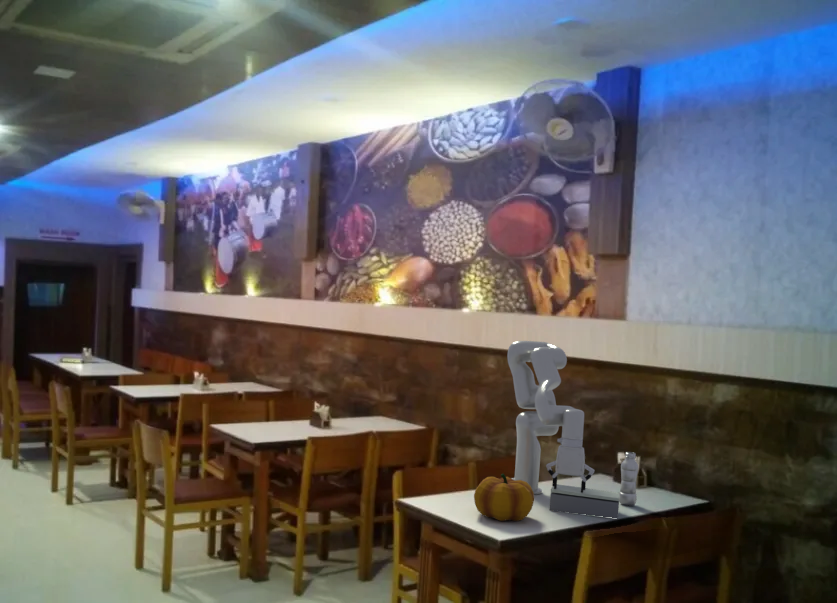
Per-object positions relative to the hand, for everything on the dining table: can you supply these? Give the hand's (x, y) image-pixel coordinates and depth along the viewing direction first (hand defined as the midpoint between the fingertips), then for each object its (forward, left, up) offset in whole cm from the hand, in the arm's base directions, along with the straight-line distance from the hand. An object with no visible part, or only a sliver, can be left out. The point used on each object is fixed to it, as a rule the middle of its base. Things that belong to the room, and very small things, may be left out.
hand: (568, 490), depth 282 cm
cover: (+6, +3, -1) cm, 7 cm away
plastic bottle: (+21, +22, -8) cm, 31 cm away
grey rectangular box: (+6, +3, -8) cm, 10 cm away
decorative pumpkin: (-20, -21, -8) cm, 30 cm away
